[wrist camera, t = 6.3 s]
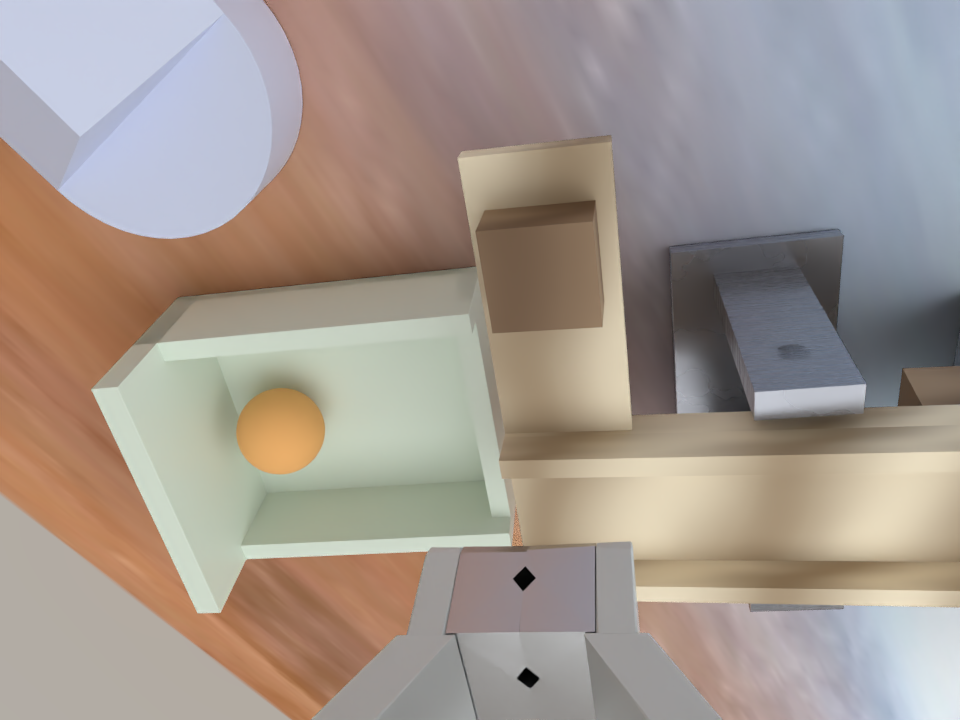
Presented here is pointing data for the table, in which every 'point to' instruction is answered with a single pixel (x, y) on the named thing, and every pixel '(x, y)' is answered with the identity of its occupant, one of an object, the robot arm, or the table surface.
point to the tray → (347, 416)
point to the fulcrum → (763, 333)
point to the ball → (280, 431)
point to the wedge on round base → (150, 106)
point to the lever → (690, 426)
